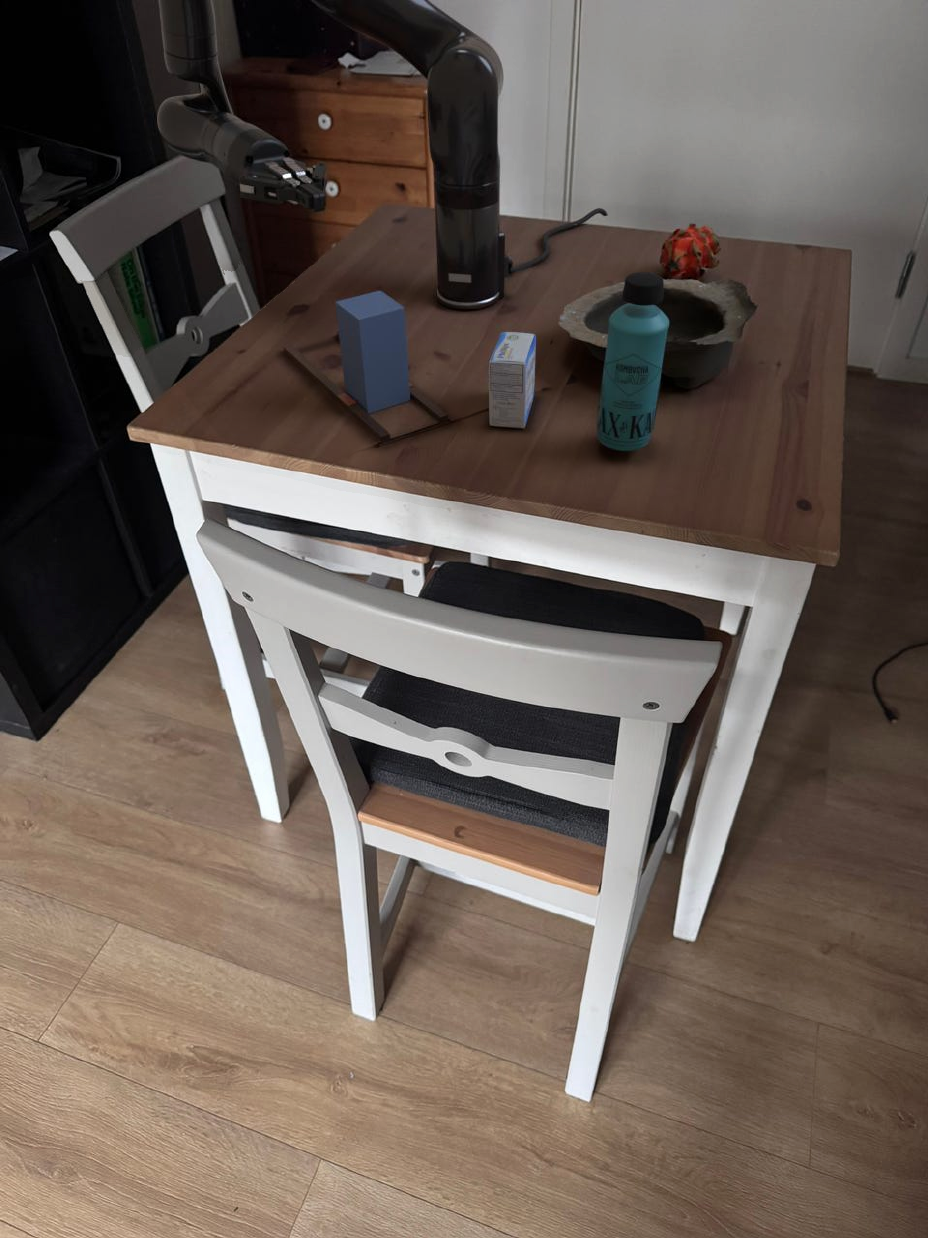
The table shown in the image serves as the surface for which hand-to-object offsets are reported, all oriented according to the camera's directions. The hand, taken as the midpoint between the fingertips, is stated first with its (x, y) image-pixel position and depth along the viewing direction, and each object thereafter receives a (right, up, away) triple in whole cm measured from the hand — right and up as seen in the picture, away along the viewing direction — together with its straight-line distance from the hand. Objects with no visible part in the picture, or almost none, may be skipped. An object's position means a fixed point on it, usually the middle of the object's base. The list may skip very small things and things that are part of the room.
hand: (320, 203), depth 110 cm
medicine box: (+24, -26, +1) cm, 35 cm away
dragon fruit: (+52, +2, +31) cm, 61 cm away
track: (+4, -21, +6) cm, 22 cm away
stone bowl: (+42, -17, +10) cm, 47 cm away
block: (+7, -23, +3) cm, 24 cm away
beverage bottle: (+36, -31, -6) cm, 48 cm away
